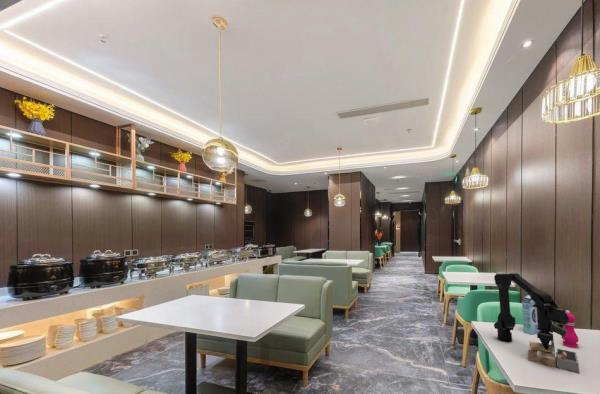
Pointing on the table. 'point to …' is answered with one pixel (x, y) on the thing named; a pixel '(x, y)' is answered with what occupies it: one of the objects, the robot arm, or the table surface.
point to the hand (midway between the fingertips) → (546, 348)
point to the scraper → (542, 347)
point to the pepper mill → (570, 332)
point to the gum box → (529, 316)
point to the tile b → (563, 355)
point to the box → (567, 361)
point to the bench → (541, 357)
